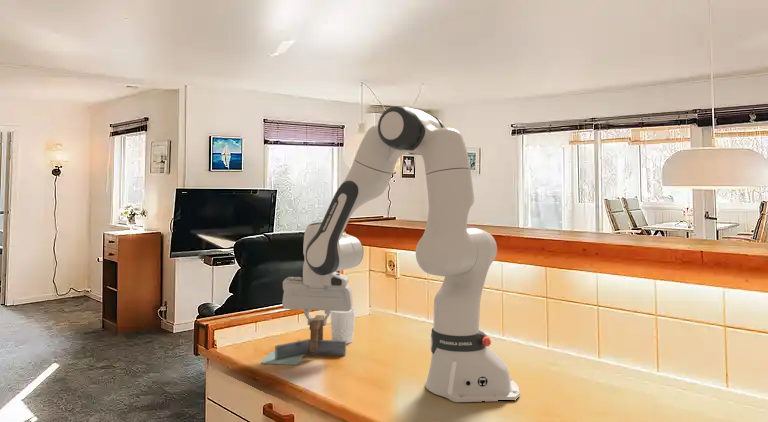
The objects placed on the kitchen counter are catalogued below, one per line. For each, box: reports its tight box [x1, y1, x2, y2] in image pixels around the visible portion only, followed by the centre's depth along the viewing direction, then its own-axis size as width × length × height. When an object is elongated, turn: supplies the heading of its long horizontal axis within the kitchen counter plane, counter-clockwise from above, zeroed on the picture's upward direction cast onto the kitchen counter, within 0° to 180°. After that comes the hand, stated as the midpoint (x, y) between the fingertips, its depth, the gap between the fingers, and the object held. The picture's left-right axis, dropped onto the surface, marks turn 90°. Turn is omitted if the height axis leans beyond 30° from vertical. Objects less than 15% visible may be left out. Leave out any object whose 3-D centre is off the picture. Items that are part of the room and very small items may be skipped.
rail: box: [274, 338, 347, 360], centre depth 150 cm, size 19×9×4 cm, turn 86°
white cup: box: [330, 307, 356, 345], centre depth 166 cm, size 8×8×10 cm
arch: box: [309, 314, 326, 352], centre depth 153 cm, size 2×10×8 cm, turn 176°
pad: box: [260, 351, 306, 366], centre depth 148 cm, size 10×10×1 cm
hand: (317, 324), depth 153 cm, fingers closed on arch, 2 cm apart
